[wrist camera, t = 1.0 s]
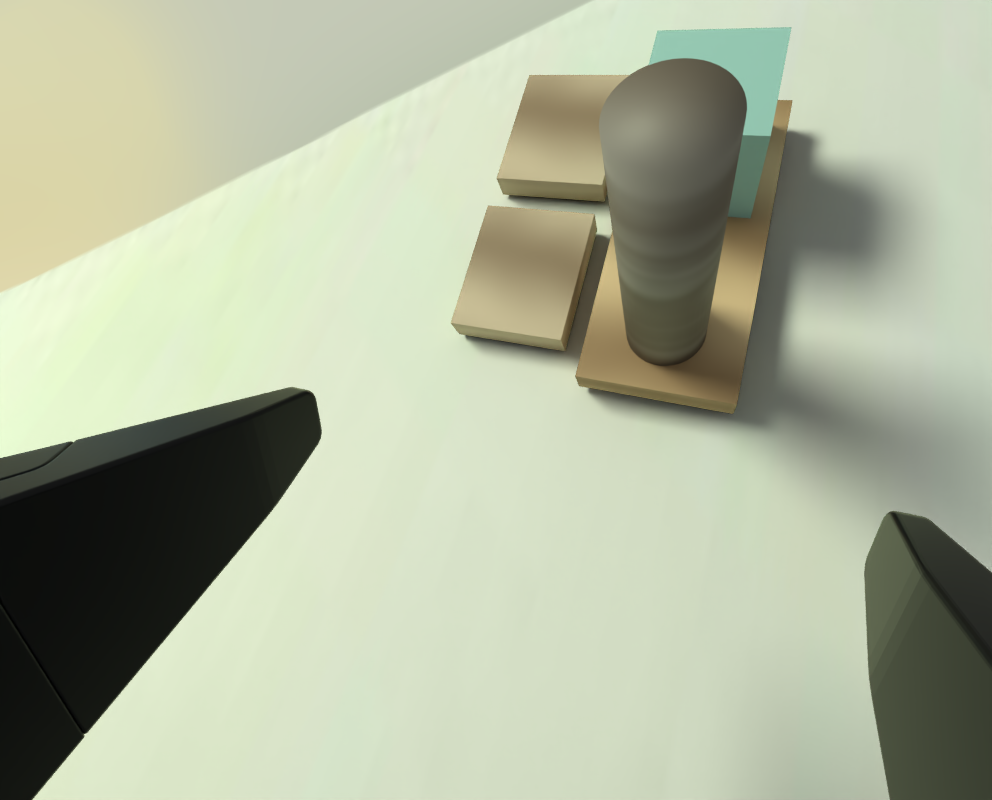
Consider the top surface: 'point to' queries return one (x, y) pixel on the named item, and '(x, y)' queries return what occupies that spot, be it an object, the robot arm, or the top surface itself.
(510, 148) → the beige rectangular block
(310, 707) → the top surface
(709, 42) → the cube
